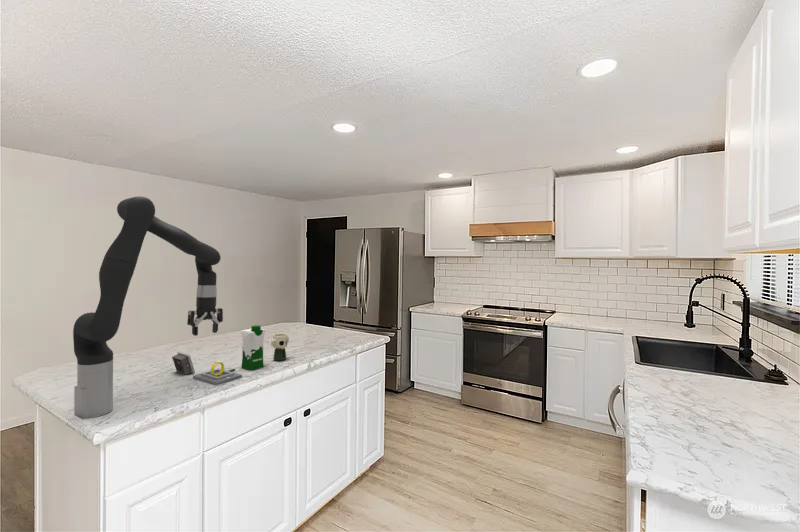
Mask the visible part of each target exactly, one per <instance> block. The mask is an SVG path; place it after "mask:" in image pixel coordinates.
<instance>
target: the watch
mask: <svg viewBox="0 0 800 532" xmlns="http://www.w3.org/2000/svg"><path fill="white" fill-rule="evenodd" d="M218 364H220V367H221V368H220V369H221V371H220V372H219V373H218V374H214V370H215V367H216V366H217V365H218ZM224 370H225V364H224V362H223V361H222V360H215V361H214V363H213V364H212V366H211V367H210V371H211V374H212V375H213V376H217V375H221V374H222V373H223V371H224Z"/></svg>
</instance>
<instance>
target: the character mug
mask: <svg viewBox="0 0 800 532" xmlns="http://www.w3.org/2000/svg"><path fill="white" fill-rule="evenodd" d="M289 340H290V338H289V336H288V334H287V333H285V332H283V333H273V335H272V340H271V343H270V344H271V345H270V346H271V347H272V348H274V351H273V352H274V353H273V360H274V361H284V360H287V353H286V347H287V346H288V343H289V342H290V341H289Z"/></svg>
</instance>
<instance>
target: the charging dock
mask: <svg viewBox="0 0 800 532" xmlns="http://www.w3.org/2000/svg"><path fill="white" fill-rule="evenodd" d="M235 370H236V368H232V369H229V370H226V369H224V371H223V373H222V374H221V375H217V376H213V375H212V374H211V370H209V371H208V370H207V371H205V372H201V373H198V374H194V375H192V378H193V379H194V380H196V381H200V382H203V383H207V384H210V385H214V386H219V385H222V384H223V385H224V384H225V383H229V382H233V381H235V380H238V379H242V378H243V374H241V373H237V372H235ZM220 371H221V368H216V369H215V368H214V374H218V373H219V372H220Z"/></svg>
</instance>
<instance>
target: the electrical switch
mask: <svg viewBox="0 0 800 532" xmlns="http://www.w3.org/2000/svg"><path fill="white" fill-rule="evenodd" d="M171 358H172V361H173V362H172V363H173V365H174V367H175V370H176V372H177V373H179V374H180V375H183V376H188V375H190V374H195V372H196V371H195V368H194V364H193V361H192V359H191V355H190V354H189V353H185V352H183V351H177V352H176V355H173V356H172V357H171Z"/></svg>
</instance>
